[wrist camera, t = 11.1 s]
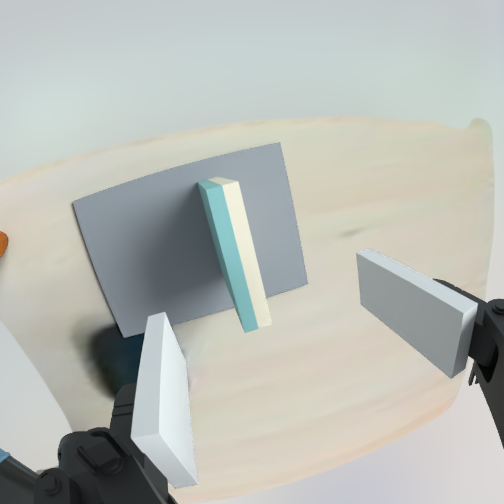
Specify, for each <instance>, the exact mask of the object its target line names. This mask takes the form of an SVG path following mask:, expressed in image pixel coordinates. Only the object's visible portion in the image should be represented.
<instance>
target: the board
mask: <svg viewBox="0 0 504 504" xmlns="http://www.w3.org/2000/svg"><path fill="white" fill-rule="evenodd" d="M198 186H199V190H200V194H201V198H202V202H203V206H204V209H205V213H206V217H207V221H208V224H209V228H210V232H211V236H212V239H213V243H214V247H215V250H216V254H217V257H218V261H219V264H220V268H221V272H222V275H223V278H224V280H225V283H226V286H227V288H228V291H229V293H230V296H231V299H232V301H233V304H234V306H235V309H236V311H237V314H238V317H239V319H240V322H241V324H242V327H243V329H244V332H245V333H246V332H249V331H252V330H255V329H258V328H262V327H265V326H268V325H271V324H272V321H271V317H270V313H269V308H268V304H267V300H266V296H265V291H264V287H263V283H262V279H261V274H260V270H259V266H258V262H257V258H256V253H255V249H254V245H253V241H252V236H251V232H250V228H249V224H248V220H247V215H246V211H245V207H244V203H243V199H242V194H241V190H240V186H239V182H238V181H234V180H230V179H225V178H221V177H214V178H210V179H207V180H203V181H199V182H198Z"/></svg>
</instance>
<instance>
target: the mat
mask: <svg viewBox="0 0 504 504" xmlns="http://www.w3.org/2000/svg"><path fill="white" fill-rule="evenodd" d="M214 177H221V178H225V179H230V180H234V181H238V182H239V186H240V190H241V194H242V199H243V203H244V207H245V211H246V215H247V220H248V224H249V228H250V232H251V236H252V241H253V245H254V249H255V253H256V258H257V262H258V266H259V270H260V274H261V279H262V283H263V287H264V291H265V296H266V297H269V296H272V295H275V294H279V293H282V292H285V291H288V290H291V289H294V288H297V287H300V286H303V285H306V284H308V281H307V275H306V270H305V264H304V258H303V253H302V247H301V242H300V236H299V231H298V226H297V221H296V216H295V210H294V205H293V200H292V196H291V191H290V186H289V181H288V176H287V172H286V167H285V162H284V158H283V153H282V149H281V145H280V142H279V143H274V144H269V145H264V146H260V147H255V148H250V149H246V150H241V151H237V152H233V153H228V154H224V155H220V156H216V157H212V158H208V159H204V160H200V161H197V162H193V163H189V164H185V165H182V166H178V167H175V168H171V169H168V170H164V171H161V172H158V173H154V174H151V175H148V176H145V177H141V178H138V179H135V180H132V181H129V182H126V183H123V184H120V185H117V186H114V187H111V188H108V189H106V190H103V191H100V192H97V193H94V194H92V195H89V196H86V197H84V198H81V199H78V200H76V201H73V205H74V208H75V212H76V215H77V219H78V222H79V225H80V228H81V231H82V234H83V237H84V240H85V243H86V246H87V249H88V252H89V255H90V258H91V260H92V263H93V266H94V269H95V271H96V274H97V276H98V279H99V282H100V284H101V287H102V289H103V291H104V294H105V296H106V299H107V301H108V303H109V306H110V308H111V310H112V313H113V315H114V317H115V319H116V322H117V324H118V326H119V328H120V330H121V332H122V335H123V337H124V338H125V337H129V336H133V335H137V334H141V333H145V331H146V326H147V320H148V316H151V315H155V314H159V313H162V312H165V313H166V315H167V318H168V320H169V323H170V325H174V324H178V323H182V322H185V321H189V320H192V319H196V318H199V317H203V316H206V315H210V314H213V313H217V312H220V311H223V310H227V309H230V308H233V307H235V306H234V304H233V301H232V299H231V296H230V293H229V291H228V288H227V286H226V283H225V280H224V278H223V275H222V272H221V268H220V264H219V261H218V257H217V254H216V250H215V247H214V243H213V239H212V236H211V232H210V228H209V224H208V221H207V217H206V213H205V209H204V206H203V202H202V198H201V194H200V190H199V186H198V182H199V181H203V180H207V179H210V178H214Z"/></svg>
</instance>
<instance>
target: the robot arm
mask: <svg viewBox="0 0 504 504" xmlns="http://www.w3.org/2000/svg"><path fill="white" fill-rule="evenodd" d="M356 256H357V265H358V276H359V287H360V300H361V305H362V306H363V307H364V308H366V309H367V310H368V311H369V312H371V313H372V314H373V315H374V316H376V317H377V318H378V319H379V320H381V321H382V322H383V323H384V324H386V325H387V326H388V327H389V328H390V329H392V330H393V331H394V332H395V333H397V334H398V335H399V336H400V337H401V338H403V339H404V340H405V341H406V342H408V343H409V344H410V345H411V346H412V347H414V348H415V349H416V350H417V351H418V352H420V353H421V354H422V355H423V356H424V357H426V358H427V359H428V360H429V361H430V362H432V363H433V364H434V365H435V366H436V367H438V368H439V369H440V370H441V371H442V372H444V373H445V374H446V375H447V376H448V377H449V378H453V377H454V376H456V375H457V374H458V373H460V372H461V371H463V370H464V369H465V367H466V363H467V358H468V356H470V357H471V358H473V359H474V363H473V367H472V371H471V374H470V377H469V381H468V382H469V386H470V385H472V382H473V378H474V376H475V375H476V381H475V384H477V383H479V384H480V387H481V389H482V391H483V394H484V396H485V398H486V401H487V404H488V406H489V408H490V411H491V414H492V416H493V419H494V422H495V425H496V427H497V430H498V433H499V436H500V439H501V442H502V445H503V448H504V299H494V300H491V301H489V302H488V303H486V302H485V301H483V300H481V299H479V298H477V297H475V296H473V295H471V294H470V293H468V292H466V291H464V290H463V291H462V289H460V288H458V287H455V286H454V285H452V284H450V283H448V282H446V281H443V280H438V279H431V278H429V277H427V276H425V275H423V274H421V273H419V272H417V271H415V270H413V269H411V268H409V267H407V266H405V265H403V264H401V263H399V262H397V261H395V260H393V259H391V258H389V257H386V256H384V255H382V254H380V253H378V252H376V251H374V250H372V249H370V248H369V249H367V250H364V251H361V252H358V253H356ZM58 460H59V468H51V469H48V470H45V471H44V472H43V473H41V474H40V475H39V474H37V473H35V472H34V471H32V470H31V469H29V468H28V467H26V466H25V465H23V464H22V463H20V462H19V461H17V460H16V459H14V458H13V457H12V456H10V454H9V453H8V452H4V451H3V450H2V449H0V504H178V503H177V502H176V501H175V499H174V498H173V497H172V496H171V495H170V494H169V493H168V482H169V483H170V484H171V485H172V486H173V487H174V488H181V487H188V486H194V485H199V483H198V476H197V469H196V461H195V453H194V445H193V436H192V427H191V417H190V406H189V394H188V381H187V367H186V361H185V359H184V356H183V354H182V352H181V349H180V347H179V345H178V342H177V340H176V338H175V335H174V333H173V330H172V328H171V325H170V323H169V320H168V318H167V315H166V313H165V312H162V313H159V314H155V315H151V316H148V320H147V326H146V331H145V337H144V343H143V348H142V354H141V361H140V367H139V374H138V381H137V382H136V383H131V384H126V385H123V386H122V387H121V389H120V390H119V392H118V393H117V395H116V397H115V402H114V409H113V412H112V418H111V423H110V428H109V429H108V428H106V427H97V428H94V429H91V430H88V431H87V432H74V433H70V434H67V435H65V436H64V437H63V438H62V439H61V441H60V444H59V448H58ZM167 481H168V482H167Z"/></svg>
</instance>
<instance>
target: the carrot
mask: <svg viewBox="0 0 504 504" xmlns="http://www.w3.org/2000/svg"><path fill="white" fill-rule="evenodd" d="M7 244H8V237H7V235H6V234H5V233H3V232H1V231H0V257H1V256H2V255H3V253H4V252H5V250H6V248H7Z"/></svg>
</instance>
